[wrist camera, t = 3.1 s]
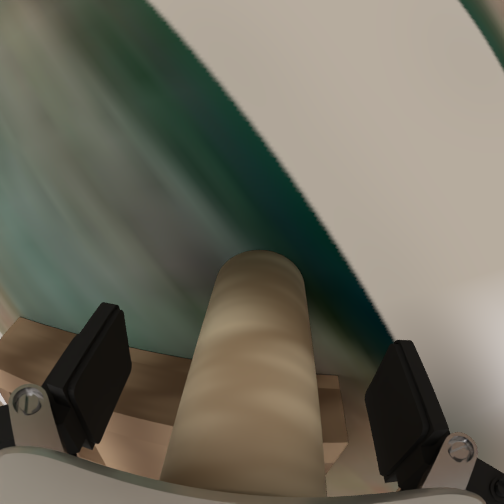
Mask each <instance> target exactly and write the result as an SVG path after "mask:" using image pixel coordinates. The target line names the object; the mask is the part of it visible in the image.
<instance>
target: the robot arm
mask: <svg viewBox="0 0 504 504" xmlns="http://www.w3.org/2000/svg"><path fill="white" fill-rule="evenodd" d="M131 369H132V362H131V356H130V351H129V345H128V338H127V332H126V325H125V318H124V312H123V311H122V310H120V309H119V306H118V305H114V304H110V303H105V302H103V303H101V304H100V306H99V307H98V308H97V310H96V311H95V313H94V314H93V315H92V317H91V318H90V319H89V321H88V322H87V324H86V325H85V327H84V328H83V329H82V331H81V332H80V334H77V335H76V336H75V337H74V338H73V339H72V341H71V342H70V343H69V345H68V346H67V348H66V349H65V351H64V352H63V354H62V355H61V357H60V358H59V360H58V361H57V363H56V364H55V366H54V367H53V369H52V370H51V372H50V373H49V375H48V376H47V378H46V379H45V381H44V383H43V384H42V386H41V387H40V386H38V385H36V384H24V385H21V386H19V387H17V388H16V389H15V390H14V391H13V392H12V393H11V395H10V397H9V404H7V405H4V406H0V504H504V473H502V472H500V471H498V470H497V469H495V468H493V467H492V466H490V465H488V464H486V463H485V462H483V461H482V460H480V459H478V458H477V455H478V450H477V446H476V444H475V442H474V440H473V439H472V438H471V437H470V436H468V435H466V434H464V433H459V432H455V433H452V434H450V432H449V428H448V425H447V422H446V420H445V417H444V415H443V412H442V409H441V407H440V404H439V402H438V400H437V397H436V394H435V392H434V389H433V387H432V385H431V383H430V380H429V378H428V375H427V373H426V371H425V368H424V366H423V364H422V362H421V359H420V357H419V355H418V353H417V351H416V348H415V346H414V344H413V342H412V341H410V340H396V341H395V342H394V344H390V346H389V348H388V350H387V352H386V354H385V356H384V358H383V360H382V362H381V364H380V366H379V368H378V370H377V372H376V374H375V376H374V378H373V380H372V382H371V384H370V386H369V388H368V389H367V391H366V394H365V403H366V408H367V412H368V417H369V421H370V426H371V431H372V436H373V441H374V446H375V451H376V456H377V461H378V467H379V472H380V474H381V475H382V476H384V480H385V483H387V482H395V481H398V486H399V488H398V489H397V491H396V492H390V493H381V494H369V495H358V496H342V497H275V496H259V495H247V494H237V493H228V492H221V491H213V490H207V489H200V488H194V487H189V486H183V485H178V484H173V483H168V482H164V481H159V480H155V479H151V478H147V477H143V476H139V475H135V474H132V473H128V472H124V471H121V470H117V469H114V468H110V467H107V466H104V465H101V464H98V463H94V462H91V461H88V460H86V459H82V458H80V456H79V454H78V453H79V452H80V450H81V448H82V447H85V448H87V449H90V450H93V448H94V445H95V444H99V443H100V442H101V440H102V437H103V435H104V432H105V430H106V428H107V425H108V423H109V421H110V418H111V416H112V414H113V411H114V409H115V407H116V404H117V402H118V400H119V397H120V395H121V393H122V391H123V388H124V386H125V384H126V382H127V380H128V377H129V375H130V373H131Z"/></svg>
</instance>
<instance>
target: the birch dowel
mask: <svg viewBox="0 0 504 504" xmlns="http://www.w3.org/2000/svg"><path fill="white" fill-rule="evenodd" d="M159 481H164V482H168V483H173V484H178V485H183V486H189V487H194V488H200V489H207V490H213V491H221V492H228V493H237V494H247V495H259V496H275V497H327V491H326V477H325V463H324V451H323V439H322V428H321V417H320V407H319V397H318V388H317V379H316V370H315V361H314V353H313V345H312V337H311V329H310V321H309V314H308V306H307V299H306V292H305V285H304V280H303V277H302V275H301V273H300V271H299V269H298V268H297V267H296V266H295V264H294V263H293V262H291V261H290V260H289V259H287V258H286V257H284V256H282V255H280V254H278V253H275V252H271V251H266V250H252V251H246V252H243V253H240V254H238V255H236V256H234V257H232V258H231V259H230V260H228V261H227V262H226V263H225V264H224V265H223V266H222V268H221V269H220V271H219V273H218V275H217V278H216V281H215V285H214V288H213V291H212V295H211V298H210V301H209V304H208V308H207V311H206V314H205V318H204V321H203V324H202V328H201V331H200V335H199V338H198V341H197V345H196V348H195V352H194V355H193V359H192V362H191V365H190V369H189V372H188V376H187V379H186V383H185V386H184V390H183V394H182V397H181V401H180V404H179V408H178V411H177V415H176V419H175V422H174V426H173V430H172V433H171V437H170V441H169V444H168V448H167V452H166V456H165V459H164V463H163V467H162V471H161V475H160V478H159Z"/></svg>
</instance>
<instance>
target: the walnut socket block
mask: <svg viewBox="0 0 504 504" xmlns="http://www.w3.org/2000/svg"><path fill="white" fill-rule="evenodd" d="M76 335H77V334H74V333H70V332H67V331H63V330H60V329H56V328H53V327H50V326H46V325H43V324H40V323H37V322H34V321H31V320H27V319H24V318H21V317H19V318H18V319H17V321H16V322H15V323H14V324H13V325H12V326H11V327H10V328H9V330H8V331H7V332H6V333H5V334H4V335H3V336H2V338H1V339H0V393H1V395H2V397H3V398H4V400H5V402H6V403H7V404H9V397H10V395H11V393H12V392H13V391H14V390H15V389H16V388H17V387H19V386H21V385H24V384H36V385H38V386H40V387H41V386H42V384H43V383H44V381H45V379H46V378H47V376H48V375H49V373H50V372H51V370H52V369H53V367H54V366H55V364H56V363H57V361H58V360H59V358H60V357H61V355H62V354H63V352H64V351H65V349H66V348H67V346H68V345H69V343H70V342H71V341H72V339H73V338H74V337H75V336H76ZM129 351H130V356H131V362H132V369H131V373H130V375H129V377H128V380H127V382H126V384H125V386H124V388H123V391H122V393H121V395H120V397H119V400H118V402H117V404H116V407H115V409H114V411H113V414H112V416H111V418H110V421H109V423H108V425H107V428H106V430H105V432H104V435H103V437H102V440H101V442H100V443H99V444H95V445H94V448H93V450H90V449H87V448H85V447H82V448H81V450H80V452H79V453H78V454H79V456H80V458H82V459H86V460H88V461H91V462H94V463H98V464H101V465H104V466H107V467H110V468H114V469H117V470H121V471H124V472H128V473H132V474H135V475H139V476H143V477H147V478H151V479H155V480H159V478H160V475H161V471H162V467H163V463H164V459H165V456H166V452H167V448H168V444H169V441H170V437H171V433H172V430H173V426H174V422H175V419H176V415H177V411H178V408H179V404H180V401H181V397H182V394H183V390H184V386H185V383H186V379H187V376H188V372H189V369H190V365H191V362H192V359H186V358H180V357H175V356H169V355H164V354H159V353H154V352H149V351H144V350H139V349H135V348H130V347H129ZM316 379H317V388H318V397H319V407H320V417H321V428H322V439H323V451H324V463H325V475H326V474H327V472H328V471H329V470H330V468H331V467H332V465H333V464H334V463H335V461H336V460H337V459H338V457H339V456H340V454H341V453H342V451H343V450H344V449H345V447H346V446H347V444H348V443H349V442H348V436H347V429H346V422H345V416H344V410H343V404H342V398H341V392H340V386H339V380H338V376H334V375H318V374H316Z"/></svg>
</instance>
